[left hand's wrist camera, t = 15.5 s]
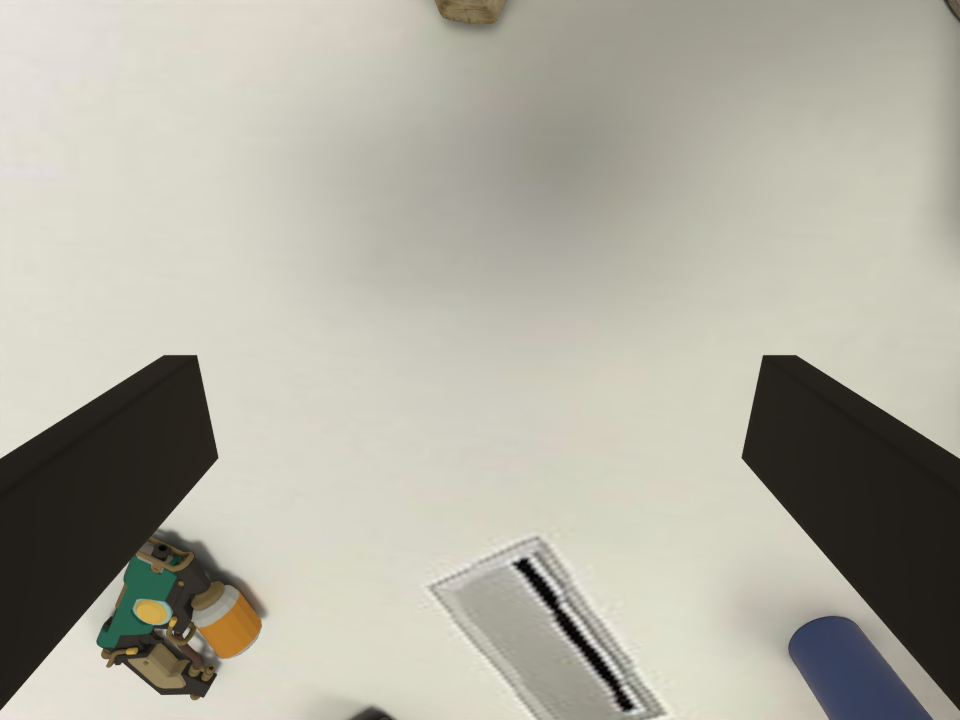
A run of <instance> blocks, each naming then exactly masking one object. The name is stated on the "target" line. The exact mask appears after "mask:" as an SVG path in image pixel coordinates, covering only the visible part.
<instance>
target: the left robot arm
mask: <svg viewBox="0 0 960 720" xmlns="http://www.w3.org/2000/svg"><path fill="white" fill-rule="evenodd" d="M947 1H948V3H949V4H950V6H951V8H952V9H953V11H954V12H955V13H956V15H957V16H958V17H959V18H960V0H947ZM217 459H218V453H217V448H216V444H215V439H214V434H213V429H212V425H211V420H210V415H209V410H208V406H207V401H206V396H205V391H204V387H203V382H202V377H201V372H200V367H199V363H198V358H197V355H164V356H162V357H160V358H159V359H157V360H156V361H154V362H152V363H151V364H149V365H148V366H146V367H145V368H143V369H141V370H140V371H138V372H137V373H135V374H134V375H132V376H130V377H129V378H127V379H126V380H124V381H122V382H121V383H119V384H118V385H116V386H115V387H113V388H111V389H110V390H108V391H107V392H105V393H103V394H102V395H100V396H99V397H97V398H96V399H94V400H92V401H91V402H89V403H88V404H86V405H85V406H83V407H81V408H80V409H78V410H77V411H75V412H73V413H72V414H70V415H69V416H67V417H66V418H64V419H62V420H61V421H59V422H58V423H56V424H54V425H53V426H51V427H50V428H48V429H47V430H45V431H43V432H42V433H40V434H39V435H37V436H36V437H34V438H32V439H31V440H29V441H28V442H26V443H24V444H23V445H21V446H20V447H18V448H17V449H15V450H13V451H12V452H10V453H9V454H7V455H5V456H4V457H2V458H1V459H0V710H1V709H2V708H3V707H4V706H5V705H6V703H7V702H8V701H9V700H10V699H11V698H12V696H13V695H14V694H15V693H16V692H17V691H18V689H19V688H20V687H21V686H22V685H23V684H24V683H25V681H26V680H27V679H28V678H29V677H30V676H31V674H32V673H33V672H34V671H35V670H36V669H37V667H38V666H39V665H40V664H41V663H42V662H43V661H44V659H45V658H46V657H47V656H48V655H49V654H50V652H51V651H52V650H53V649H54V648H55V647H56V645H57V644H58V643H59V642H60V641H61V640H62V639H63V637H64V636H65V635H66V634H67V633H68V632H69V630H70V629H71V628H72V627H73V626H74V625H75V623H76V622H77V621H78V620H79V619H80V618H81V617H82V615H83V614H84V613H85V612H86V611H87V610H88V608H89V607H90V606H91V605H92V604H93V603H94V601H95V600H96V599H97V598H98V597H99V596H100V595H101V593H102V592H103V591H104V590H105V589H106V588H107V586H108V585H109V584H110V583H111V582H112V581H113V579H114V578H115V577H116V576H117V575H118V574H119V573H120V571H121V570H122V569H123V568H124V567H125V566H126V564H127V563H128V562H129V561H130V560H131V559H132V558H133V556H134V555H135V554H136V553H137V552H138V551H139V549H140V548H141V547H142V546H143V545H144V544H145V542H146V541H147V540H148V539H149V538H150V537H151V536H152V534H153V533H154V532H155V531H156V530H157V529H158V527H159V526H160V525H161V524H162V523H163V522H164V520H165V519H166V518H167V517H168V516H169V515H170V514H171V512H172V511H173V510H174V509H175V508H176V507H177V505H178V504H179V503H180V502H181V501H182V500H183V498H184V497H185V496H186V495H187V494H188V493H189V492H190V490H191V489H192V488H193V487H194V486H195V485H196V483H197V482H198V481H199V480H200V479H201V478H202V476H203V475H204V474H205V473H206V472H207V471H208V470H209V468H210V467H211V466H212V465H213V464H214V463H215V461H216V460H217ZM742 459H743V460H744V461H745V463H746V464H747V465H748V466H749V467H750V468H751V470H752V471H753V472H754V473H755V474H756V475H757V476H758V478H759V479H760V480H761V481H762V482H763V483H764V485H765V486H766V487H767V488H768V489H769V490H770V492H771V493H772V494H773V495H774V496H775V497H776V498H777V500H778V501H779V502H780V503H781V504H782V505H783V507H784V508H785V509H786V510H787V511H788V512H789V514H790V515H791V516H792V517H793V518H794V519H795V520H796V522H797V523H798V524H799V525H800V526H801V527H802V529H803V530H804V531H805V532H806V533H807V534H808V536H809V537H810V538H811V539H812V540H813V541H814V542H815V544H816V545H817V546H818V547H819V548H820V549H821V551H822V552H823V553H824V554H825V555H826V556H827V558H828V559H829V560H830V561H831V562H832V563H833V564H834V566H835V567H836V568H837V569H838V570H839V571H840V573H841V574H842V575H843V576H844V577H845V578H846V579H847V581H848V582H849V583H850V584H851V585H852V586H853V588H854V589H855V590H856V591H857V592H858V593H859V595H860V596H861V597H862V598H863V599H864V600H865V601H866V603H867V604H868V605H869V606H870V607H871V608H872V610H873V611H874V612H875V613H876V614H877V615H878V617H879V618H880V619H881V620H882V621H883V622H884V623H885V625H886V626H887V627H888V628H889V629H890V630H891V632H892V633H893V634H894V635H895V636H896V637H897V639H898V640H899V641H900V642H901V643H902V644H903V645H904V647H905V648H906V649H907V650H908V651H909V652H910V654H911V655H912V656H913V657H914V658H915V659H916V661H917V662H918V663H919V664H920V665H921V666H922V667H923V669H924V670H925V671H926V672H927V673H928V674H929V676H930V677H931V678H932V679H933V680H934V681H935V683H936V684H937V685H938V686H939V687H940V688H941V689H942V691H943V692H944V693H945V694H946V695H947V696H948V698H949V699H950V700H951V701H952V702H953V703H954V705H955V706H956V707H957V708H958V709H959V710H960V459H959V458H958V457H956V456H955V455H953V454H951V453H950V452H948V451H947V450H945V449H943V448H942V447H940V446H939V445H937V444H936V443H934V442H932V441H931V440H929V439H928V438H926V437H924V436H923V435H921V434H920V433H918V432H917V431H915V430H913V429H912V428H910V427H909V426H907V425H906V424H904V423H902V422H901V421H899V420H898V419H896V418H894V417H893V416H891V415H890V414H888V413H887V412H885V411H883V410H882V409H880V408H879V407H877V406H875V405H874V404H872V403H871V402H869V401H868V400H866V399H864V398H863V397H861V396H860V395H858V394H857V393H855V392H853V391H852V390H850V389H849V388H847V387H845V386H844V385H842V384H841V383H839V382H838V381H836V380H834V379H833V378H831V377H830V376H828V375H826V374H825V373H823V372H822V371H820V370H819V369H817V368H815V367H814V366H812V365H811V364H809V363H808V362H806V361H804V360H803V359H801V358H800V357H798V356H796V355H763V358H762V363H761V367H760V372H759V377H758V382H757V387H756V391H755V396H754V401H753V406H752V410H751V415H750V420H749V425H748V429H747V434H746V439H745V444H744V448H743V453H742Z"/></svg>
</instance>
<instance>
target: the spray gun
mask: <svg viewBox="0 0 960 720" xmlns="http://www.w3.org/2000/svg"><path fill="white" fill-rule="evenodd" d="M147 541H149V542H152V543H154V544H156V546H155V547H153V546H151V545H143V546H142V547H141V548H140V549H139V551H138V552H137V553H136V554H135V555H134V556H133V558H132V559H131V560H130V562H129V565H128V567H127V569H126V572H125V574H124V583H125V584H124V586H123V589H122V591H121V593H120V596H119V598H118V600H117V603H116V608H117V609H116V611H115V614H114V616H113V617H110V618H109V619H108V620H107V621H106V622H105V623H104V624H103V626H102V629H101V631H100V633H99V636H98V638H97V641H96V642H97V645H98V646H100V647H102V648H103V651H102V653H101V656H102V658H103V659H109V661H108V663H107V665H106V666H107V667H108V668H110V667H111V666H112V665H113V664H114V663H115V665H120V664H121V663H124V664H125V665H126V666H127V667H128V668H130V669H131V670H132V671H133V672H134V673H136V674H137V675H138V676H139V677H140V678H142V679H143V680H144V681H145V682H146V683H148V684H149V685H150V686H151V687H152V688H154V689H155V690H156V691H157V692H158V693H160V694H161V695H182V694H190V697H191V699H192V700H197V699H199V698H200V697H203V698H204V697H205V695H206V693H207V691H208V690H209V688H210V686H211V684H212V683H213V681H214V679H215V678H216V676H217V674H216V673H214V672H215V666H214V665H212V664H211V665H209V666H207V667H205V666H203V662H202V659H201V657H200V655H199V654H198V653H197V652H196V651H195V650H193V649H192V648H191V647H190V646H189V645H188V644H187V643H188V641H189V640H190V639H191V638H192V637H193V635H194V633H195V631H196V627H197V629H198V630H199V631H200V633H201V634H202V635H203V637H204V638H205V639H206V641H207V642H208V643H209V645H210V646H211V647H212V649H213V650H214V651H215V652H216V654H217V655H218V656H219V657H220V658H222V659H228V658H232V657H235V656H238V655H240V654H242V653H243V652H245V651H246V650H247V649H248V648H249V647H250V646H251V645H252V644H253V643H254V642H255V641H256V640H257V639H258V636H259V633H260V630H261V627H262V624H261V619H260V618H259V617H258V615H257V614H256V613H255V611H254V610H253V609H252V608H251V606H250V605H249V604H248V602H247V601H246V600H245V598H244V597H243V596H242V594H241V593H240V592H239V591H238V590H237V589H236V588H234V587H232V586H231V585H223V583H222V582H220V581H214V582H212V583H210V581H209V579H208V578H207V576H206V574H205V573H204V571H203V570H202V568H201V567H200V565H199V563H198V562H197V560H196V559H195V558H194V557H195V556H194V554H193V553H192V552H191V551H190V552H186V553H185V552H183V551H181V550H179V549H177V548H175V547H172V546H170V545H168V544H166V543H164V542H162V541H160V540H158V539H156V538H154V537H150V538H149V539H148V540H147ZM174 553H175V554H177V555H175V556H174V557H173V555H174ZM178 555H179V556H178ZM180 556H182V557H184V559H182V560H181V559H180ZM185 557H187V558H185ZM192 594H196V595H195V596H194V598H193V599H192V603H191V600H190V597H191V595H192ZM192 618H193V622H191V619H192ZM187 627H190V629H191V630H190V632H189V633H188V635H187V636H186V637H185V639H184V638H183V636H182V633H184V631H185V630H186V628H187ZM153 628H157V629H167V631H166V635H167V638H168V639H169V640H170V641H171V642H172V643H174V644H176V645H177V646H178V647H179V648H180V650H181V651H182V652H183V653H184V654H185V655H186V656H188V657H189V658H190V659H191V660H192V661H193V663H191V662H190V661H189V660H178V659H177V658H176V657H175V656H174V655H173V654H172V653H171V652H170V651H169V650H168V649H167V648H166V647H165V646H164V645H163V644H162V642H163V641H164V639H163V638H160V637H159V636H156V635H155V633H154V632H153ZM172 630H173V631H174V635H173V634H172Z"/></svg>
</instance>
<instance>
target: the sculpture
mask: <svg viewBox="0 0 960 720" xmlns="http://www.w3.org/2000/svg"><path fill="white" fill-rule="evenodd" d="M435 1H436V4H437V7H438V9H439V11H440V13H441V15H442V16H443V17H444V18H446V19H450V20H454V21H460V22H466V23H475V24H489V23H494V22H495V21H496V20H497V18H498V17H499V15H500V13H501V10H502V8H503V6H504V4H505V1H506V0H435Z"/></svg>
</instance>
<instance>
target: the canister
mask: <svg viewBox="0 0 960 720" xmlns="http://www.w3.org/2000/svg"><path fill="white" fill-rule="evenodd" d="M789 653H790V656H791V658H792V660H793V661H794V663H795V665H796V666H797V668H798V670H799V671H800V673H801V674H802V676H803V678H804V679H805V681H806V682H807V684H808V686H809V687H810V689H811V691H812V692H813V694H814V695H815V697H816V699H817V700H818V702H819V703H820V705H821V707H822V708H823V710H824V712H825V713H826V715H827V716H828V718H829V720H933V719H932V718H931V716H930V715H929V714H928V713H927V711H926V710H925V709H924V708H923V706H922V705H921V704H920V703H919V701H918V700H917V699H916V698H915V696H914V695H913V694H912V693H911V691H910V690H909V689H908V688H907V686H906V685H905V684H904V683H903V681H902V680H901V679H900V678H899V676H898V675H897V674H896V673H895V671H894V670H893V669H892V668H891V666H890V665H889V664H888V663H887V662H886V660H885V659H884V658H883V657H882V655H881V654H880V653H879V652H878V650H877V649H876V648H875V647H874V645H873V644H872V643H871V642H870V640H869V639H868V638H867V637H866V635H865V634H864V633H863V632H862V630H861V629H860V628H859V627H858V626H857V625H856V624H855V623H854V622H852V621H850V620H848V619H846V618H842V617H826V618H821V619H817V620H814V621H812V622H810V623H808V624H806V625H804V626H803V627H802V628H800V629H799V630H798V631H797V632H796V633H795V634H794V636H793V637H792V639H791V641H790V644H789Z"/></svg>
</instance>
